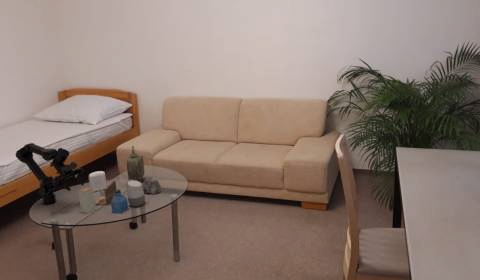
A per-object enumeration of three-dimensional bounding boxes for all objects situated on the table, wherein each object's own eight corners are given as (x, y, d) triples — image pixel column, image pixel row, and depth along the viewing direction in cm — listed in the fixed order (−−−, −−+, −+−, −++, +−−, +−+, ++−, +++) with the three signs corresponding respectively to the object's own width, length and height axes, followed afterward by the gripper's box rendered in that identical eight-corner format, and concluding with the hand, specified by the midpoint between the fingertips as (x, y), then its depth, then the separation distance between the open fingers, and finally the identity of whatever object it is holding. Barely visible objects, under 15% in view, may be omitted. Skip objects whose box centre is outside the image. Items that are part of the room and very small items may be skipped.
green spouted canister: (132, 179, 292) (127, 144, 286) (145, 178, 293) (141, 143, 287) (129, 186, 278) (124, 149, 272) (143, 185, 279) (138, 148, 273)
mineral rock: (138, 191, 268) (136, 176, 265) (153, 187, 274) (152, 172, 271) (147, 197, 258) (145, 181, 255) (163, 192, 264) (161, 176, 261)
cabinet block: (81, 211, 241) (78, 190, 238) (89, 207, 246) (85, 187, 243) (88, 213, 238) (85, 191, 235) (95, 209, 243) (92, 188, 240)
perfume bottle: (128, 209, 240) (125, 189, 238) (120, 213, 235) (118, 192, 232) (119, 207, 243) (116, 188, 240) (112, 212, 238) (109, 191, 235)
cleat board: (92, 205, 249) (89, 189, 247) (101, 196, 263) (99, 181, 260) (109, 204, 248) (106, 188, 246) (117, 196, 262) (115, 180, 260)
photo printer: (105, 187, 279) (103, 169, 276) (107, 189, 276) (105, 170, 273) (89, 191, 274) (87, 172, 271) (91, 192, 270) (88, 174, 267)
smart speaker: (141, 208, 241) (138, 184, 238) (126, 207, 243) (123, 184, 239) (147, 201, 250) (145, 178, 247) (133, 201, 252) (130, 178, 248)
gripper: (51, 163, 233) (68, 184, 230) (79, 154, 249) (95, 174, 246) (44, 175, 239) (61, 196, 236) (72, 166, 254) (87, 185, 252)
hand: (76, 187), depth 242 cm, fingers open, 9 cm apart
